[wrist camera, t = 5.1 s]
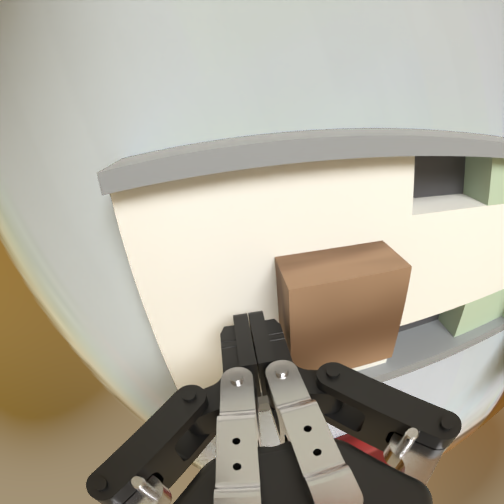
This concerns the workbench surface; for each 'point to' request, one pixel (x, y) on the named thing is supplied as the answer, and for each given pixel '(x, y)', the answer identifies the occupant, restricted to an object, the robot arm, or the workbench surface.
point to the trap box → (313, 233)
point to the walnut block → (342, 303)
